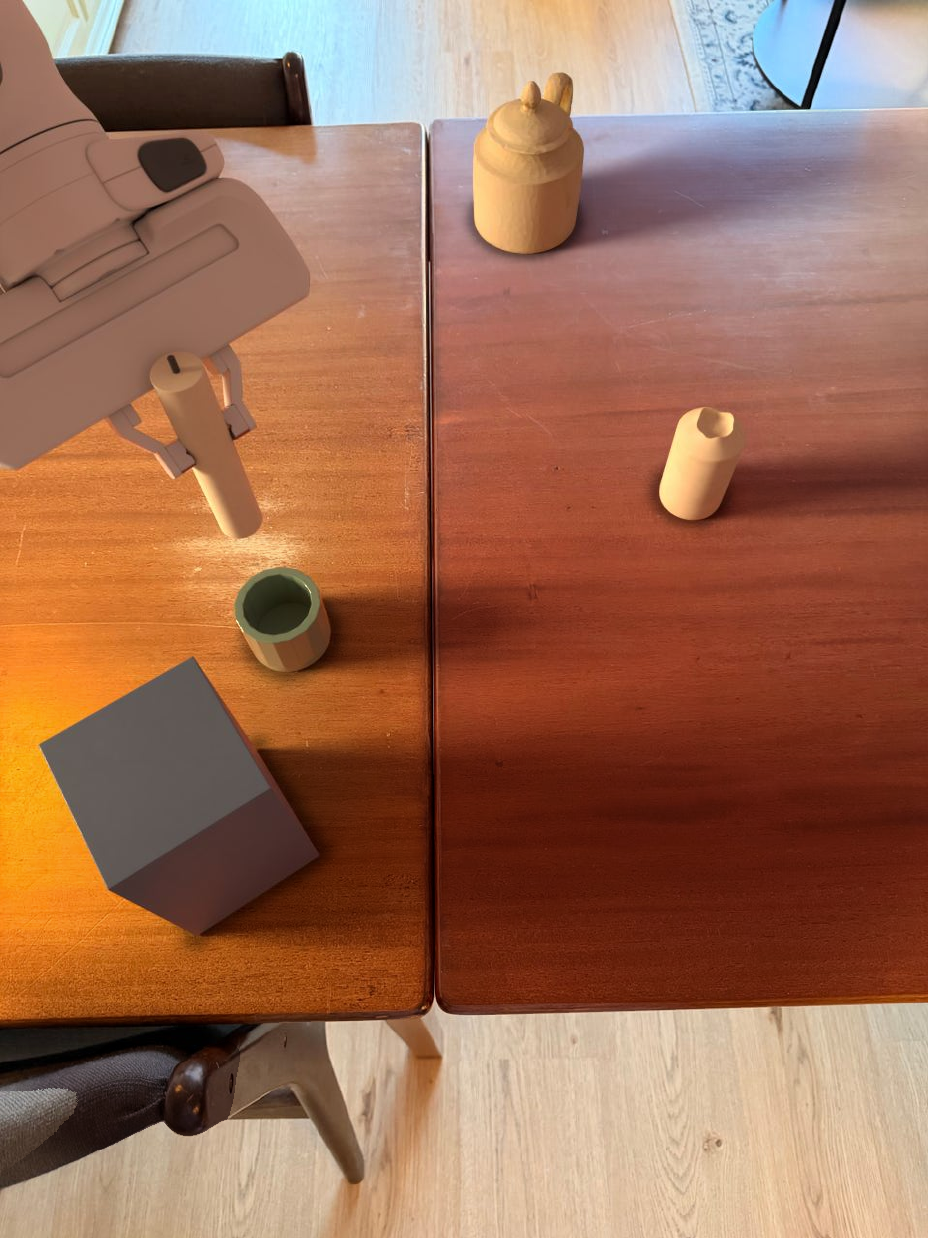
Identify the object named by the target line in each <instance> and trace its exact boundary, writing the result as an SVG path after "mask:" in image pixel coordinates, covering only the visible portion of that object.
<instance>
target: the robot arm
mask: <svg viewBox="0 0 928 1238" xmlns="http://www.w3.org/2000/svg"><path fill="white" fill-rule="evenodd" d="M224 168H225V157H224V155H223V152H222V150H221V148H220V146H219V144H218V142H217V141H216V140H215V139H214V137H213V136H212V135H211V134H210V133H208V132H206V131H202V130H192V131H182V132H173V133H164V134H158V135H157V134H156V135H148V136H139V137H137V136H135V137H127V138H126V137H124V138H111V139H110V137H109V136H108V134H107V133H106V131H105V129H104V128H103V126H102V124H100V121H99V120H98V118H97V117H96V116H95V115H94V113H93V112H92V111H91V110H90V109H89V108H88V107H87V106H86V105H85V104H84V103H83V102H82V101H81V100H80V99H79V98H78V97H77V96H76V94H74V92H73V91H72V90H71V89H70V87H69V86H68V85H67V84H66V82H65V80H64V79H63V77H62V76H61V73H60V70H59V69H58V68H57V65H56V62H55V60H54V56H53V54H52V51H51V47H50V45H49V42H48V40H47V38H46V36H45V34H44V32H43V31H42V28H41V27H40V26H39V24H38V22H37V21H36V19H35V17H34V16H33V14H32V13H31V11H30V10H29V8H28V5H26V3H25V2H24V0H0V469H3V470H6V471H13V472H14V471H15V472H17V471H20V470H22V469H23V468H26V467H27V466H28V465H30V464H32V463H34V462H35V461H37V460H39V459H40V458H42V457H43V456H45V455H47V454H48V453H50V452H52V451H54V450H56V449H57V448H58V447H61V446H62V445H63V444H65V443H67V442H68V441H70V440H71V439H73V438H75V437H76V436H78V435H80V434H82V433H83V432H85V431H86V430H89V429H90V428H92V427H93V426H95V425H96V424H98V423H100V422H102V421H103V420H105V421H106V423H107V424H108V426H109V427H110V428H111V431H113V433H114V434H115V436H116V437H117V438H119V439H121V440H123V441H125V442H127V443H129V444H131V445H133V446H135V447H137V448H139V449H141V450H142V451H145V452H146V453H148V454H153V455H154V457H155V458H156V460H157V461H158V462H159V464H160V465H161V466H162V468H163V469H164V472H165V473H166V474H167V475H168V476H169V477H170V478H171V479H172V480H177V479H179V478H180V477H181V476H184V475H185V474H186V473H188V472H189V471H190V470H193V469H192V468H194V467H195V466H197V465H196V463H195V461H194V459H193V458H192V456H191V455H188V454H186V447H185V446H184V445H183V444H182V442H181V441H180V440H179V439H178V438H174V439H172V440H171V441H169V442H167V443H164V442H161V441H160V440H157V439H155V438H154V437H152V436H150V435H148V434H146V433H144V432H142V431H140V430H139V429H137V428H135V427H137V426H139V425H140V424H142V422H143V419H142V418H141V417H140V415H139V413H138V412H137V410H136V409H135V408H134V406H133V405H132V403H133V402H135V401H137V400H138V399H140V398H141V397H143V396H145V395H146V394H148V393H150V392H151V391H153V390H155V389H154V387H153V385H152V383H151V380H150V371H151V368H152V366H153V365H154V363H155V362H156V361H157V360H158V359H159V358H161V357H162V356H164V355H166V354H169V353H172V352H178V351H183V352H189V353H192V354H194V355H196V356H197V357H199V358H200V359H201V361H202V362H203V365H204V368H205V369H206V371H208V373H209V374H210V376H211V377H213V378H215V377H218V376H221V381H222V391H223V402H224V407H223V408H222V409H221V411H222V414H223V416H224V419H225V421H226V424H227V426H228V429H229V431H230V434H231V437H232V439H233V442H235V441H237V440H240V439H241V438H243V437H245V436H246V435H248V434H249V433H250V432H252V431H254V430H255V429H257V428H258V425H257V422H256V420H255V419H254V416H252V414H251V412H250V411H249V409H248V407H247V406H246V405H245V403H244V402H243V399H244V392H243V379H242V378H243V377H242V362H241V361H240V359H239V358H238V356H237V354H236V352H235V351H234V350H233V348H232V346H231V345H230V344H231V343H233V342H235V341H237V340H238V339H240V338H241V337H243V336H245V335H246V334H248V333H250V332H252V331H253V330H255V329H257V328H258V327H260V326H261V325H263V324H265V323H267V322H268V321H270V320H272V319H274V318H275V317H277V316H278V315H280V314H282V313H283V312H285V311H287V310H288V309H290V308H292V307H293V306H295V305H297V304H298V303H301V302H302V301H304V300H305V299H307V298H308V297H309V295H310V290H311V271H310V269H309V267H308V264H307V263H306V261H305V260H304V258H303V256H302V255H301V253H300V251H299V249H298V247H297V245H295V243H294V242H293V240H292V238H291V237H290V235H289V234H288V232H287V231H286V230H285V227H284V226H283V225H282V224H281V222H280V221H279V219H278V218H277V217H276V215H275V214H274V213H273V211H272V209H271V208H270V207H269V206H268V204H267V203H266V202H265V201H264V200H263V198H262V197H261V196H260V194H258V193H257V191H255V189H253V188H252V187H251V186H249V185H248V184H246V183H245V182H243V181H241V180H239V179H236V178H233V177H220V176H221V174H222V173H223V170H224Z"/></svg>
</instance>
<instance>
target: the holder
mask: <svg viewBox="0 0 928 1238" xmlns="http://www.w3.org/2000/svg"><path fill="white" fill-rule="evenodd" d="M233 609H234V610H233V611H234V619H235V622H236V624H237V626H238V628H239V630H240V631H241V633H242V635H243V637H244V639H245V640H246V643H247V645H248V647H249V648H250V649H251V651H252V654H254V656H255V658H256V659H257V660H258V661H259V662H260V664H262V665H263V666H264V667H266V668H268V669H270V670H273V671H277V672H284V673H291V672H297V671H301V670H303V669H306V668H309V667H310V666H311V665H313V664H315V663H316V662H317V661H318V660H320V658H321V657H322V656H323V655H324V653H326V650H327V649H328V647H329V644H330V641H331V635H332V633H331V632H332V631H331V630H332V629H331V625H330V621H329V616H328V613H327V610H326V607H325V603H324V601H323V597H322V594H321V592H320V590H319V587H318V586H317V584H316V582H315V581H314V580H313V578H312V577H311V576H310V575H308V574H306V573H304V572H303V571H301V570H299V569H297V568H292V567H285V566H277V567H272V568H267V569H263V570H261V571H260V572H258V573H255V574H254V575H252V576H251V577H250V578H248V580H246V581H245V583H244V584H243V585H242V587H240V589H238V592H237V595H236V598H235V601H234V603H233Z"/></svg>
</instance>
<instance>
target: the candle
mask: <svg viewBox="0 0 928 1238" xmlns="http://www.w3.org/2000/svg"><path fill="white" fill-rule="evenodd" d="M746 441H747V432H746V429H745V426H744V424H743V423H742V422H741V420H740V419H739V418H738V417H736V416H735V415H734V414H733V413H731V412H729V411H727V410H726V409H723V408H720V407H715V406H701V407H697V408H694V409H691V410H689V411H687V412H686V413H685V414H683V415H682V417H680V419H679V421H678V423H677V426H676V429H675V432H674V436H673V440H672V442H671V447H670V450H669V453H668V457H667V460H666V463H665V467H664V470H663V473H662V477H661V479H660V484H659V499H660V502H661V504H662V506H663V507H664V508H665V509H666V511H668V512H669V513H670V514H672V515H673V516H676V517H678V518H680V519H683V520H686V521H688V520H689V521H700V520H705V519H706V518H709V517H710V516H712V515H713V514H714V513H716V511H717V510H718V509H719V507H720V505H721V503H722V502H723V499H724V497H725V494H726V492H727V489H728V487H729V485H730V482H731V479H732V477H733V474H734V472H735V470H736V467H737V464H738V462H739V459H740V457H741V455H742V453H743V449H744V447H745V445H746Z"/></svg>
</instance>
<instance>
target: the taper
mask: <svg viewBox="0 0 928 1238" xmlns="http://www.w3.org/2000/svg"><path fill="white" fill-rule="evenodd" d="M150 380H151V383H152V385H153V387H154V389H153V390H154V392H155V393H156V395H157V397H158V399H159V402H160V403H161V406H162V408H163V410H164V412H165V414H166V417H167V418H168V420H169V422H170V425H171V428H172V429H173V431H174V433H175V435H176V437H177V439H179V440H180V441H181V442H182V444H183V445H184V446H185V447H186V454H188V455H191V456H192V458H193V459H194V461H195V463H196V465H197V466H195V467H194V468H192V469H191V470H192V471H193V473H194V475H195V477H196V479H197V481H198V483H199V486H200V488H201V490H202V492H203V494H204V496H205V499H206V500H207V503H208V505H209V507H210V509H211V511H212V513H213V515H214V517H215V519H216V521H217V523H218V526H219V528H220V530H221V531H222V533H223V534H224V535H226V536H227V537H229V538H231V539H237V540H239V539H240V540H242V539H247V538H250V537H252V536H253V535H255V533H257V532H258V531H259V529H260V528H261V526H262V524H263V520H264V519H263V514H262V510H261V508H260V505H259V504H258V500H257V498H256V496H255V493H254V490H253V488H252V485H251V483H250V481H249V477H248V475H247V473H246V470H245V467H244V465H243V462H242V459H241V457H240V454H239V452H238V449H237V447H236V445H235V441H233V439H232V437H231V434H230V431H229V429H228V426H227V424H226V421H225V419H224V416H223V414H222V411H221V410H222V409H221V406H220V404H219V401H218V398H217V396H216V393H215V391H214V388H213V386H212V383H211V380H210V377H209V376H208V373H207V369H206V367H205V365H204V364H203V362H202V361H201V359H200V358H199V357H197V356H196V355H194V354H192V353H189V352H183V351H178V352H172V353H169V354H166V355H164V356H162V357H161V358H159V359H158V360H157V361H156V362H155V363H154V365H153V366H152V368H151V371H150Z"/></svg>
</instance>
